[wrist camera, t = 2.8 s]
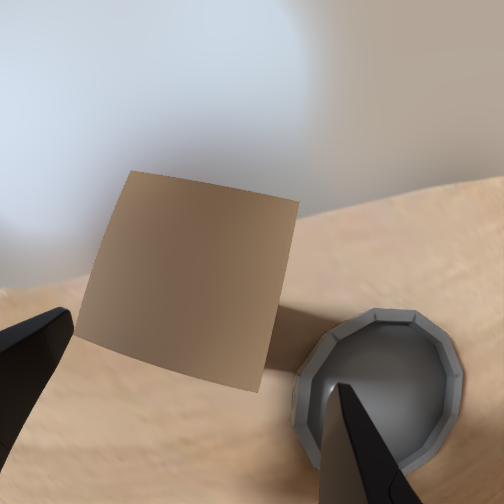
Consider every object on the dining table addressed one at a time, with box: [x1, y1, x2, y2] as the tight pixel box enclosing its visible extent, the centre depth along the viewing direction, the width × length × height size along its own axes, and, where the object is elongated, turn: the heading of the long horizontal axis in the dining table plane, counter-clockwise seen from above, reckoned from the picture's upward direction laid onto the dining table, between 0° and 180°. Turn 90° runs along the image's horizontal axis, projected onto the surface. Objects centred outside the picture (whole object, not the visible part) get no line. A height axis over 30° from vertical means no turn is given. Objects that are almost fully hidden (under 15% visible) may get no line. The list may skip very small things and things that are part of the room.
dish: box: [290, 308, 463, 476], centre depth 16 cm, size 11×11×2 cm
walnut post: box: [74, 171, 299, 393], centre depth 12 cm, size 4×4×13 cm
